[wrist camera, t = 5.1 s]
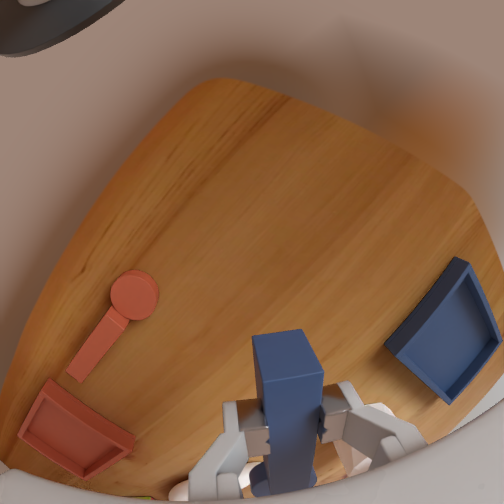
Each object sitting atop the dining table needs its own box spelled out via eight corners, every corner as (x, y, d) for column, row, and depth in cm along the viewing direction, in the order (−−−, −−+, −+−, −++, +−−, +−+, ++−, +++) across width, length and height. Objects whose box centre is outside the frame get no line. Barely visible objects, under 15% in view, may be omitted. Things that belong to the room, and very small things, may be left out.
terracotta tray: (49, 377, 25) (40, 390, 22) (135, 436, 28) (132, 451, 25) (22, 425, 26) (16, 435, 24) (89, 469, 30) (86, 481, 27)
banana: (237, 448, 30) (300, 478, 34) (147, 481, 32) (212, 508, 36) (240, 479, 25) (306, 502, 29) (144, 505, 27) (213, 529, 32)
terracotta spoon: (132, 259, 22) (122, 271, 20) (168, 291, 23) (162, 305, 21) (67, 349, 24) (57, 364, 21) (97, 373, 25) (89, 390, 22)
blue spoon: (309, 477, 15) (319, 508, 12) (251, 487, 14) (256, 520, 12) (325, 323, 11) (353, 364, 8) (225, 337, 11) (229, 386, 8)
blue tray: (383, 343, 28) (394, 356, 25) (454, 255, 26) (470, 262, 24) (440, 395, 33) (449, 405, 30) (492, 333, 31) (502, 340, 29)
